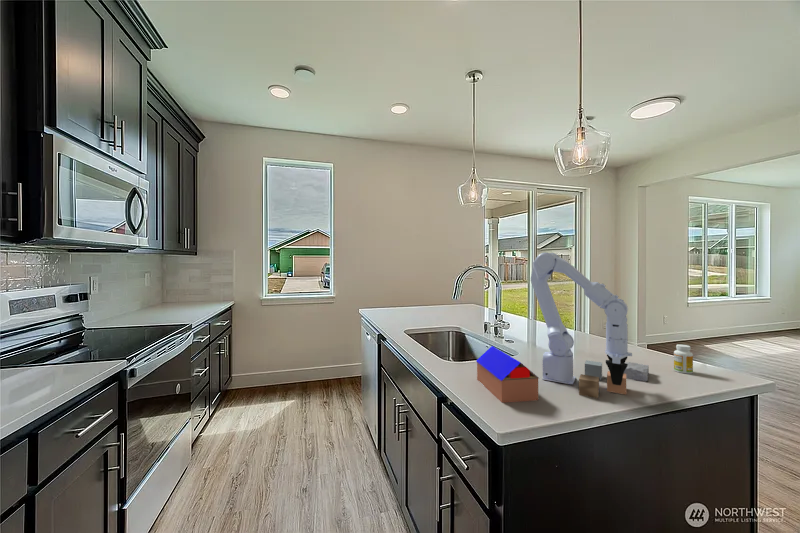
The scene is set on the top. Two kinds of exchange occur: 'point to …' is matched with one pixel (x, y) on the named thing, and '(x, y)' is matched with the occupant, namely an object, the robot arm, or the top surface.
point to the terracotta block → (616, 388)
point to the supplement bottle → (683, 359)
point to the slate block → (593, 369)
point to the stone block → (636, 371)
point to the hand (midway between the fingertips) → (616, 380)
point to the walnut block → (589, 386)
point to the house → (506, 377)
